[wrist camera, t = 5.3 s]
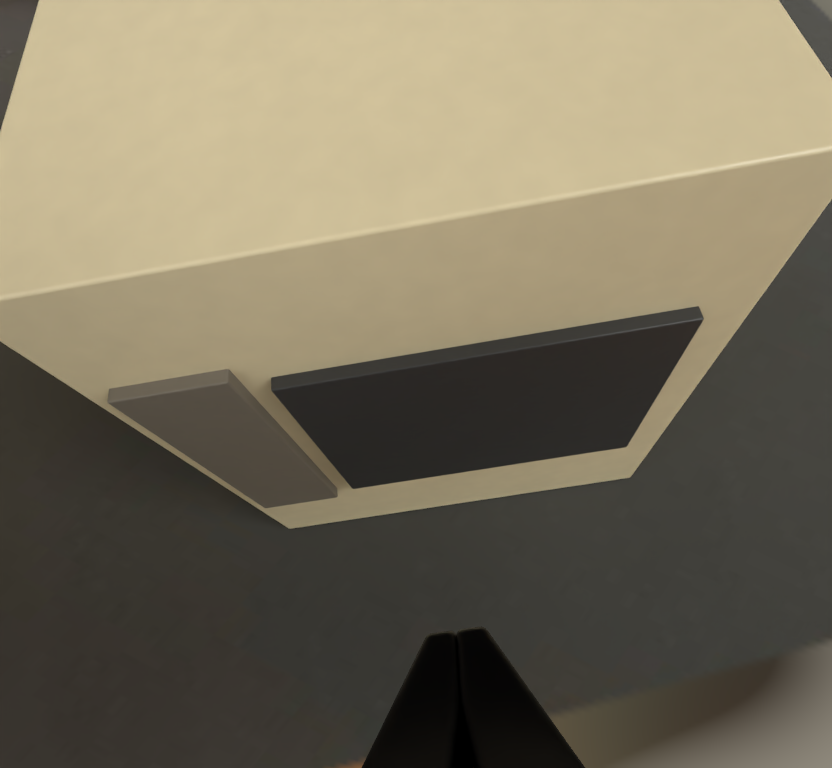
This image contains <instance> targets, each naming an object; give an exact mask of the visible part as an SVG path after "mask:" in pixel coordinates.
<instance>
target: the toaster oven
mask: <svg viewBox="0 0 832 768" xmlns="http://www.w3.org/2000/svg"><path fill="white" fill-rule="evenodd" d="M831 199H832V78H831V77H830V75H829V74H828V72H827V71H826V69H825V68H824V66H823V65H822V63H821V62H820V60H819V59H818V57H817V56H816V55H815V53H814V52H813V50H812V49H811V47H810V46H809V44H808V43H807V41H806V40H805V38H804V37H803V35H802V34H801V32H800V31H799V29H798V28H797V27H796V25H795V24H794V22H793V21H792V19H791V18H790V16H789V15H788V13H787V12H786V10H785V9H784V7H783V6H782V4H781V3H780V2H779V0H39V2H38V6H37V9H36V12H35V16H34V19H33V22H32V26H31V29H30V33H29V36H28V39H27V43H26V46H25V50H24V53H23V56H22V60H21V63H20V66H19V70H18V73H17V77H16V80H15V83H14V87H13V90H12V94H11V97H10V100H9V104H8V107H7V110H6V114H5V117H4V121H3V124H2V127H1V131H0V342H2V343H3V344H5V345H7V346H8V347H10V348H11V349H13V350H14V351H16V352H17V353H19V354H20V355H22V356H24V357H25V358H27V359H28V360H30V361H31V362H33V363H34V364H36V365H37V366H39V367H40V368H42V369H44V370H45V371H47V372H48V373H50V374H51V375H53V376H54V377H56V378H57V379H59V380H61V381H62V382H64V383H65V384H67V385H68V386H70V387H71V388H73V389H74V390H76V391H78V392H79V393H81V394H82V395H84V396H85V397H87V398H88V399H90V400H91V401H93V402H94V403H96V404H98V405H99V406H101V407H102V408H104V409H105V410H107V411H108V412H110V413H111V414H113V415H115V416H116V417H118V418H119V419H121V420H122V421H124V422H125V423H127V424H128V425H130V426H131V427H133V428H135V429H136V430H138V431H139V432H141V433H142V434H144V435H145V436H147V437H148V438H150V439H152V440H153V441H155V442H156V443H158V444H159V445H161V446H162V447H164V448H165V449H167V450H169V451H170V452H172V453H173V454H175V455H176V456H178V457H179V458H181V459H182V460H184V461H185V462H187V463H189V464H190V465H192V466H193V467H195V468H196V469H198V470H199V471H201V472H202V473H204V474H206V475H207V476H209V477H210V478H212V479H213V480H215V481H216V482H218V483H219V484H221V485H222V486H224V487H226V488H227V489H229V490H230V491H232V492H233V493H235V494H236V495H238V496H239V497H241V498H243V499H244V500H246V501H247V502H249V503H250V504H252V505H253V506H255V507H256V508H258V509H260V510H261V511H263V512H264V513H266V514H267V515H269V516H270V517H272V518H273V519H275V520H276V521H278V522H280V523H281V524H283V525H284V526H286V527H287V528H289V529H292V528H298V527H305V526H312V525H318V524H325V523H331V522H338V521H345V520H351V519H358V518H365V517H371V516H378V515H385V514H391V513H398V512H404V511H411V510H418V509H424V508H431V507H438V506H444V505H451V504H458V503H464V502H471V501H477V500H484V499H491V498H497V497H504V496H511V495H517V494H524V493H531V492H537V491H544V490H551V489H557V488H564V487H570V486H577V485H584V484H590V483H597V482H604V481H610V480H617V479H624V478H630V477H631V476H632V474H633V473H634V472H635V470H636V469H637V468H638V466H639V465H640V463H641V462H642V461H643V459H644V458H645V456H646V455H647V454H648V452H649V451H650V450H651V448H652V447H653V445H654V444H655V443H656V441H657V440H658V438H659V437H660V436H661V434H662V433H663V432H664V430H665V429H666V427H667V426H668V425H669V423H670V422H671V421H672V419H673V418H674V416H675V415H676V414H677V412H678V411H679V409H680V408H681V407H682V405H683V404H684V403H685V401H686V400H687V398H688V397H689V396H690V394H691V393H692V391H693V390H694V389H695V387H696V386H697V385H698V383H699V382H700V380H701V379H702V378H703V376H704V375H705V373H706V372H707V371H708V369H709V368H710V367H711V365H712V364H713V362H714V361H715V360H716V358H717V357H718V356H719V354H720V353H721V351H722V350H723V349H724V347H725V346H726V344H727V343H728V342H729V340H730V339H731V338H732V336H733V335H734V333H735V332H736V331H737V329H738V328H739V326H740V325H741V324H742V322H743V321H744V320H745V318H746V317H747V315H748V314H749V313H750V311H751V310H752V308H753V307H754V306H755V304H756V303H757V302H758V300H759V299H760V297H761V296H762V295H763V293H764V292H765V291H766V289H767V288H768V286H769V285H770V284H771V282H772V281H773V279H774V278H775V277H776V275H777V274H778V273H779V271H780V270H781V268H782V267H783V266H784V264H785V263H786V261H787V260H788V259H789V257H790V256H791V255H792V253H793V252H794V250H795V249H796V248H797V246H798V245H799V243H800V242H801V241H802V239H803V238H804V237H805V235H806V234H807V232H808V231H809V230H810V228H811V227H812V226H813V224H814V223H815V221H816V220H817V219H818V217H819V216H820V214H821V213H822V212H823V210H824V209H825V208H826V206H827V205H828V203H829V202H830V201H831Z"/></svg>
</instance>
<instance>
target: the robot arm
mask: <svg viewBox="0 0 832 768" xmlns="http://www.w3.org/2000/svg"><path fill="white" fill-rule="evenodd" d="M362 768H585V767H584V766H583V764H582V763H581V761H580V760H579V759H578V757H577V756H576V755H575V753H574V752H573V750H572V749H571V747H570V746H569V745H568V743H567V742H566V740H565V739H564V737H563V736H562V735H561V734H560V732H559V730H558V729H557V728H556V726H555V725H554V723H553V722H552V721H551V719H550V718H549V716H548V715H547V714H546V712H545V711H544V709H543V708H542V707H541V705H540V704H539V702H538V701H537V699H536V698H535V697H534V695H533V694H532V692H531V691H530V690H529V688H528V687H527V685H526V684H525V683H524V681H523V680H522V678H521V677H520V676H519V674H518V673H517V671H516V670H515V668H514V667H513V666H512V664H511V663H510V661H509V660H508V659H507V657H506V656H505V654H504V653H503V652H502V650H501V649H500V647H499V646H498V645H497V643H496V642H495V640H494V639H493V637H492V636H491V635H490V633H489V632H488V631H487V630H486V629H485V628H484V627H475V628H468V629H461V630H459V631H458V632H457V636H456V634H455V632H453V631H446V632H439V633H432V634H429V635H428V636H427V637H426V638H425V640H424V642H423V644H422V646H421V648H420V650H419V652H418V654H417V656H416V658H415V660H414V662H413V664H412V666H411V668H410V670H409V672H408V674H407V676H406V678H405V681H404V683H403V685H402V687H401V689H400V691H399V693H398V695H397V697H396V699H395V701H394V703H393V705H392V707H391V709H390V711H389V713H388V715H387V717H386V719H385V721H384V723H383V725H382V727H381V729H380V731H379V734H378V736H377V738H376V740H375V742H374V744H373V746H372V748H371V750H370V752H369V754H368V756H367V758H366V760H365V762H364V764H363V766H362Z"/></svg>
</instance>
